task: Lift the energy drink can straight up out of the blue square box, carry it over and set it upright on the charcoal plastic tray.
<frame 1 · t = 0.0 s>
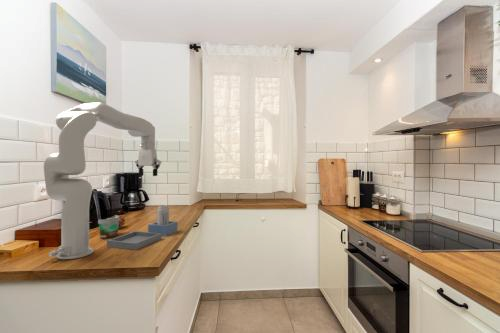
hand: (148, 175, 149), 31 cm above the countertop, tool pointing down, fingers open, 9 cm apart
blue square box: (163, 232, 140), on the countertop
food container: (112, 236, 132), on the countertop
energy drink can: (163, 233, 140), resting in blue square box
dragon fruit: (116, 229, 149), on the countertop
tray: (135, 242, 122), on the countertop
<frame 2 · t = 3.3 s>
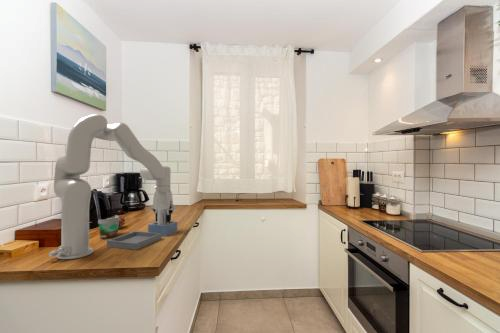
hand: (163, 221, 140), 7 cm above the countertop, tool pointing down, fingers closed on energy drink can, 6 cm apart
energy drink can: (163, 233, 140), resting in blue square box, touching gripper
everything else where it was.
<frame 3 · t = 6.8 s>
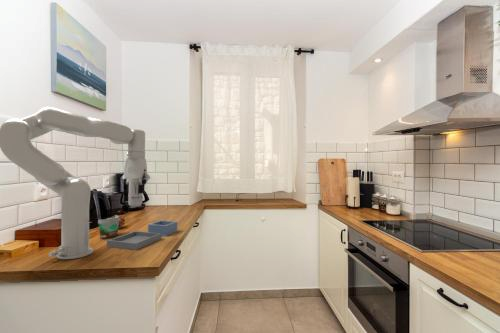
hand: (135, 192, 122), 24 cm above the countertop, tool pointing down, fingers closed on energy drink can, 6 cm apart
energy drink can: (135, 206, 122), point 17 cm above the countertop, touching gripper
everything else where it was.
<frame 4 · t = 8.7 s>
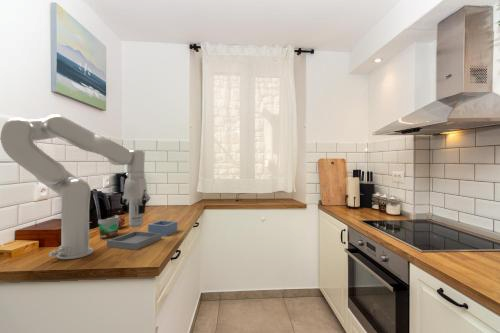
hand: (135, 212, 122), 14 cm above the countertop, tool pointing down, fingers closed on energy drink can, 6 cm apart
energy drink can: (136, 226, 122), point 8 cm above the countertop, touching gripper
everything else where it was.
when the fingers open (9 cm above the countertop, at t = 10.3 s): energy drink can drops 2 cm, resting on tray.
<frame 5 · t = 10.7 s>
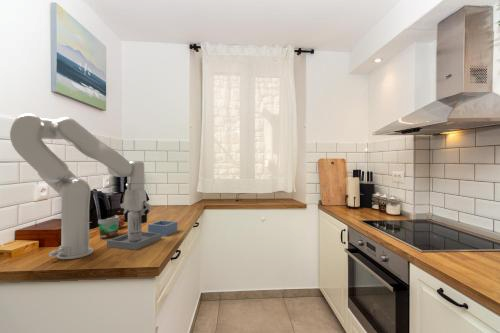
hand: (135, 222, 122), 10 cm above the countertop, tool pointing down, fingers open, 9 cm apart
energy drink can: (134, 241, 122), point 1 cm above the countertop, touching tray
everything else where it was.
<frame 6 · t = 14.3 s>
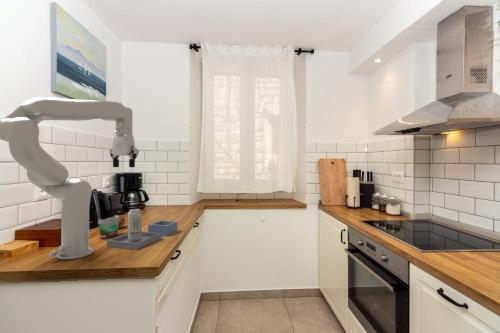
hand: (123, 167, 126), 36 cm above the countertop, tool pointing down, fingers open, 9 cm apart
nothing on the countertop moved.
at the end: energy drink can inside the target area on the tray (0.3 cm from its centre), point 0.6 cm above the tray's base; energy drink can tilted 0°; the gripper is holding nothing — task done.
